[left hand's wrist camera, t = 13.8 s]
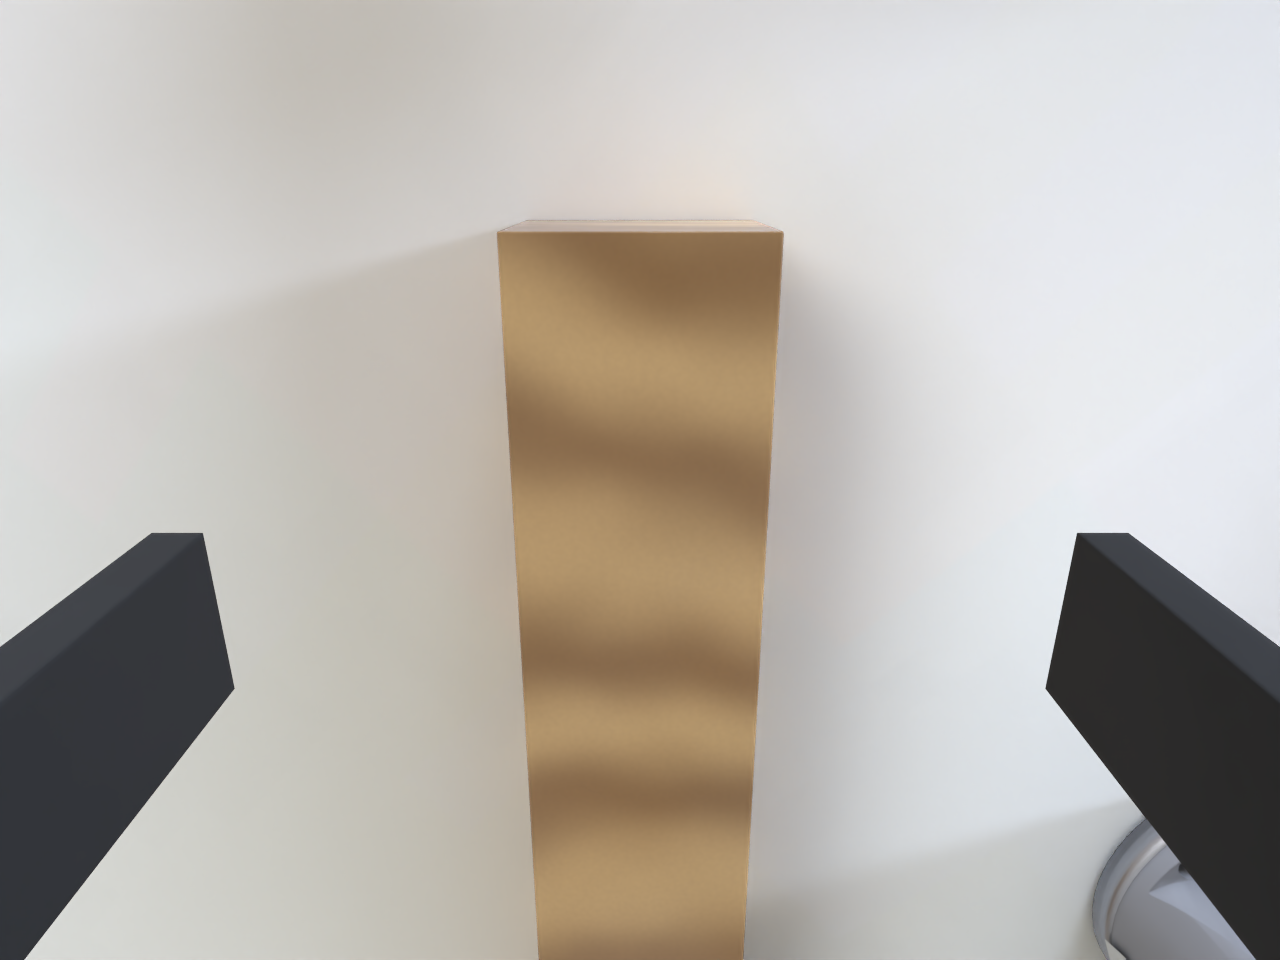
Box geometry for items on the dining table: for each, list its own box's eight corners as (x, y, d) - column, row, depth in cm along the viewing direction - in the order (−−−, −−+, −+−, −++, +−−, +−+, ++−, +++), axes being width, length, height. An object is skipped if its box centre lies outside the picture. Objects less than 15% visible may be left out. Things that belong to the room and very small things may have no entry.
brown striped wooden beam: (525, 220, 31) (496, 231, 25) (754, 219, 31) (784, 231, 25) (571, 1218, 51) (562, 1366, 45) (710, 1217, 51) (720, 1366, 45)
